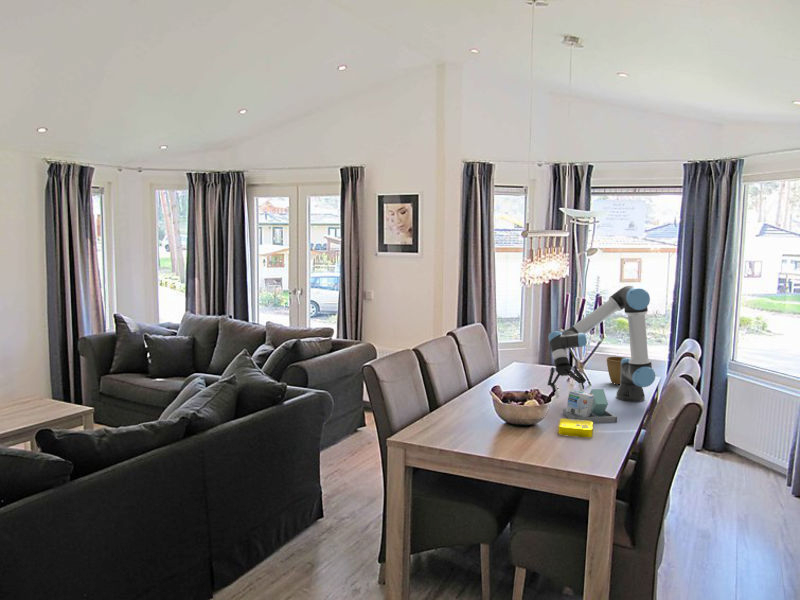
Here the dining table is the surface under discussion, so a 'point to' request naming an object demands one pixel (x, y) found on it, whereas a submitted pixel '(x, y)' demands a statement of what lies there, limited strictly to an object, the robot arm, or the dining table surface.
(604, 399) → the teal block
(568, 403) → the light bulb box
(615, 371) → the plant pot
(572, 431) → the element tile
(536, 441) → the dining table surface
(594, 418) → the tray
